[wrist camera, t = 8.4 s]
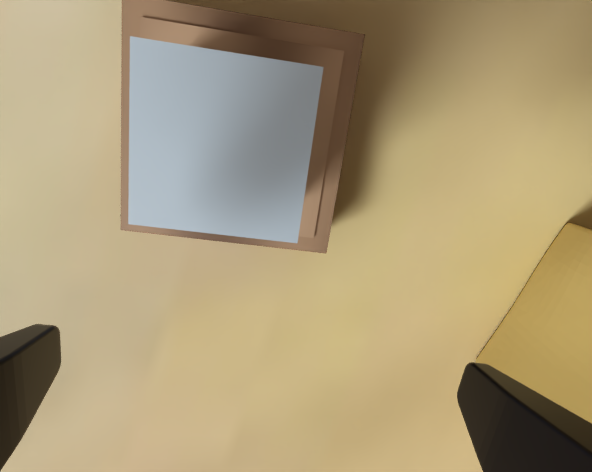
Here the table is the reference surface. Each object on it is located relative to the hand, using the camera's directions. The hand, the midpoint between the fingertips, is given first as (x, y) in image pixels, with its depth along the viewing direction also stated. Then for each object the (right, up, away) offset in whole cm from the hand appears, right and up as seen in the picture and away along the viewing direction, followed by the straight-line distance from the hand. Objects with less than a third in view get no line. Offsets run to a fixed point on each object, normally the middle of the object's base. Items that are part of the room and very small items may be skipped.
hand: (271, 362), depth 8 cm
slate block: (-2, +7, +7) cm, 10 cm away
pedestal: (-2, +8, +10) cm, 13 cm away
